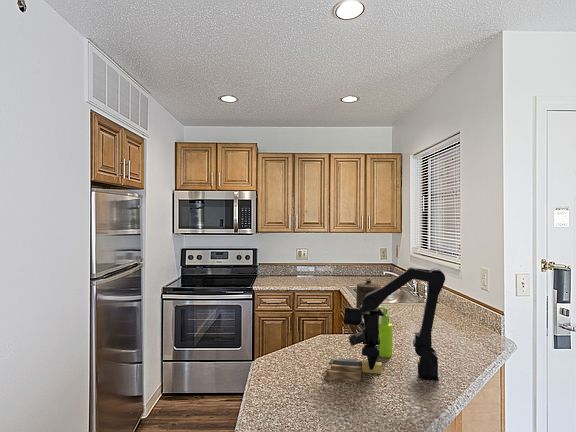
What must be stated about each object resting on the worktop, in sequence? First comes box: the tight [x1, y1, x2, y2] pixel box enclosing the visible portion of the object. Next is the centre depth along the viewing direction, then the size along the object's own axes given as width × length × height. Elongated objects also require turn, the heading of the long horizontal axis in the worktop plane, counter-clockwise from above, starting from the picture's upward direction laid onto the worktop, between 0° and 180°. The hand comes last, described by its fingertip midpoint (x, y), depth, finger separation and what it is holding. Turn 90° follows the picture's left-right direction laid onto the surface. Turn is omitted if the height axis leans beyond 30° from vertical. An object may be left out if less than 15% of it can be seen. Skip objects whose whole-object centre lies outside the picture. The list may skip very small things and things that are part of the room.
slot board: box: [325, 358, 363, 384], centre depth 154 cm, size 12×14×3 cm
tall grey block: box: [337, 357, 358, 366], centre depth 157 cm, size 7×3×3 cm, turn 80°
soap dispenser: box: [376, 306, 393, 358], centre depth 177 cm, size 6×7×20 cm
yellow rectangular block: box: [362, 360, 383, 375], centre depth 157 cm, size 7×3×3 cm, turn 77°
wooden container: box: [355, 278, 382, 317], centre depth 256 cm, size 15×15×22 cm
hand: (371, 368), depth 157 cm, fingers closed on yellow rectangular block, 3 cm apart
